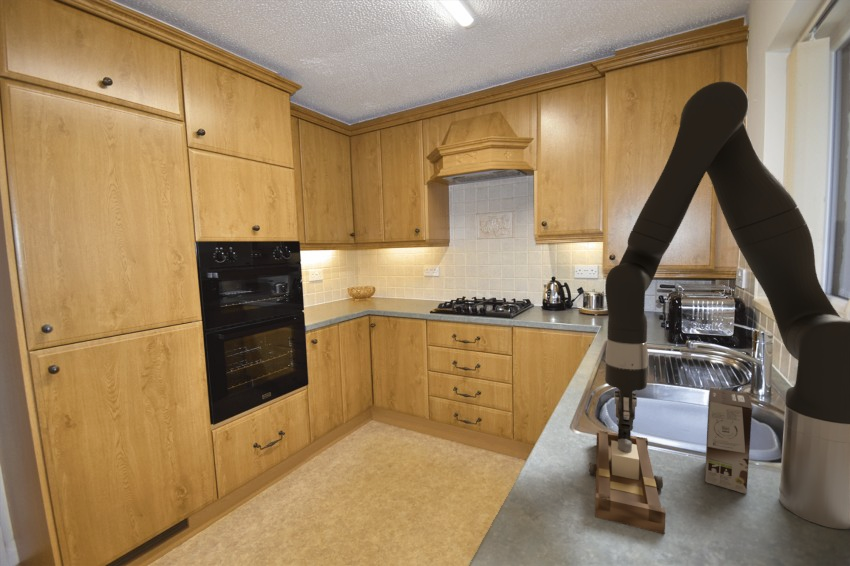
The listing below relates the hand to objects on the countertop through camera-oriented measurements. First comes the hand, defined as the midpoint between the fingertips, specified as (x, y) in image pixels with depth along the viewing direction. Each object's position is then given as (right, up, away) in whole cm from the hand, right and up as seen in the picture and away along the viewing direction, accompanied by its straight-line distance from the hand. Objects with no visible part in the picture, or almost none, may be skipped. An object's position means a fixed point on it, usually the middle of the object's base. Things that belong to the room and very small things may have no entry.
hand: (623, 444), depth 80 cm
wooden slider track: (-3, -5, -5) cm, 8 cm away
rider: (-2, -3, -4) cm, 5 cm away
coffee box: (+18, -5, -4) cm, 19 cm away
